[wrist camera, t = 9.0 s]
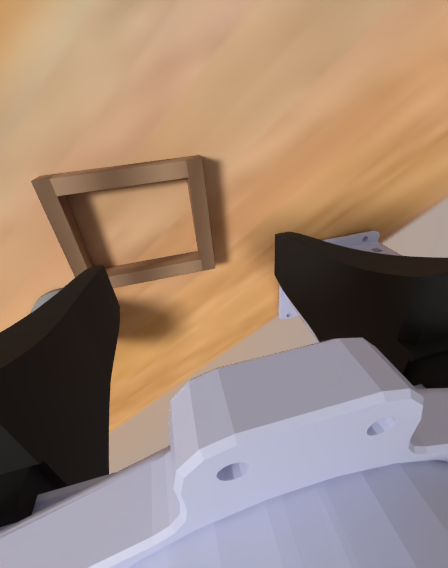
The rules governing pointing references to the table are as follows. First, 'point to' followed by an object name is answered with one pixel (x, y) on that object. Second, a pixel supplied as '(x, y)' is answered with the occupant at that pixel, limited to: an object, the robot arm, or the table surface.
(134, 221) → the table surface
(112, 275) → the frame
